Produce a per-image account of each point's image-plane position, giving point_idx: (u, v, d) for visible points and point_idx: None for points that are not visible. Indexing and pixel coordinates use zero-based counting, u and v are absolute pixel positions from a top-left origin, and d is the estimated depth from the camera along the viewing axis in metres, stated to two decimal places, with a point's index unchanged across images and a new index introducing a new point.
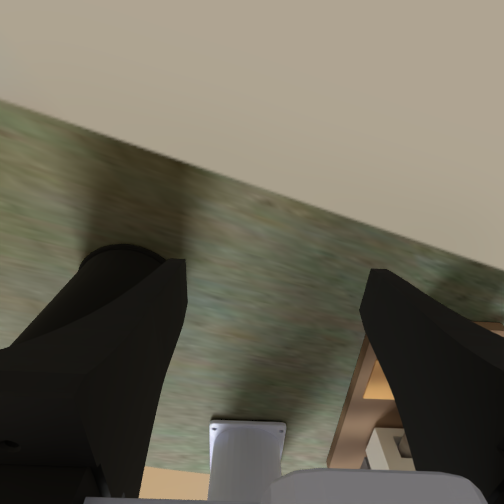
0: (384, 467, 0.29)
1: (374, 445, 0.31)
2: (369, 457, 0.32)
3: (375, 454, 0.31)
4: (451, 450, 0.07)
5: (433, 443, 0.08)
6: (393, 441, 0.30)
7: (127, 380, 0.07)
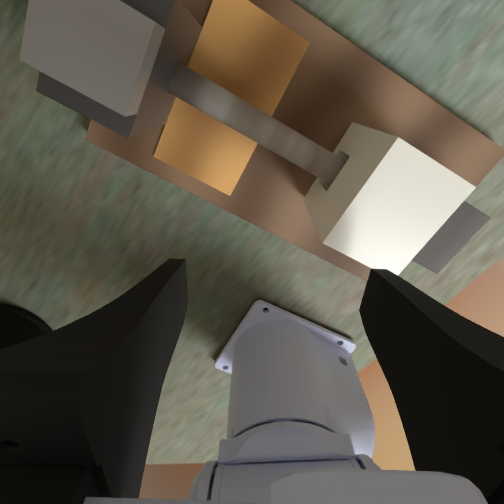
0: None
1: None
2: None
3: None
4: (451, 450, 0.07)
5: (433, 443, 0.08)
6: (319, 186, 0.17)
7: (127, 380, 0.07)
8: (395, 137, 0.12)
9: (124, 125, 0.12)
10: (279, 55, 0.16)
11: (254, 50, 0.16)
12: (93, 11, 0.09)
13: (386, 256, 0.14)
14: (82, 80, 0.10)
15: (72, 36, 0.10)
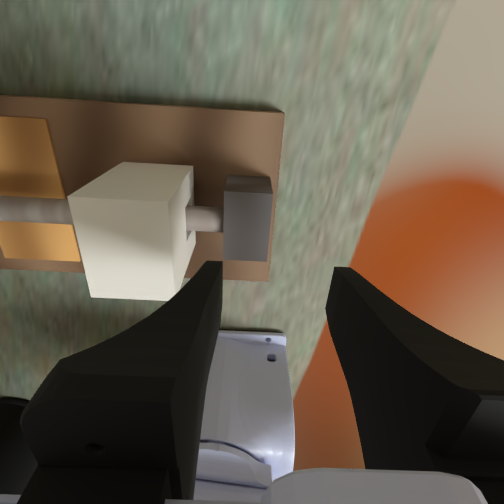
0: None
1: None
2: None
3: None
4: (392, 448, 0.07)
5: (379, 441, 0.08)
6: None
7: (192, 382, 0.07)
8: (69, 196, 0.13)
9: None
10: (31, 141, 0.18)
11: (11, 147, 0.18)
12: None
13: (150, 286, 0.15)
14: None
15: None
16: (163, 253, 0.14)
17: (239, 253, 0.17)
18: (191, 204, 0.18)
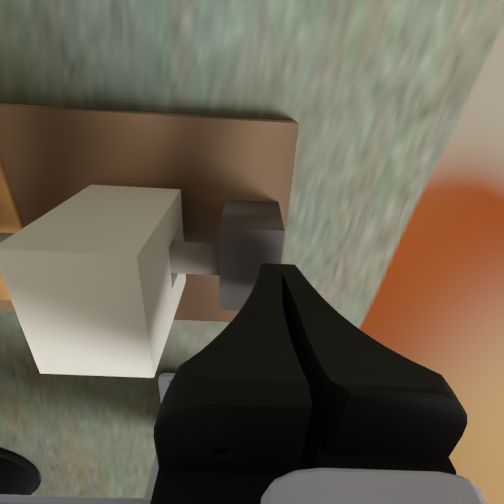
0: None
1: None
2: None
3: None
4: None
5: None
6: None
7: None
8: None
9: None
10: None
11: None
12: None
13: (119, 360, 0.11)
14: None
15: None
16: (134, 321, 0.10)
17: (240, 302, 0.14)
18: (179, 237, 0.14)
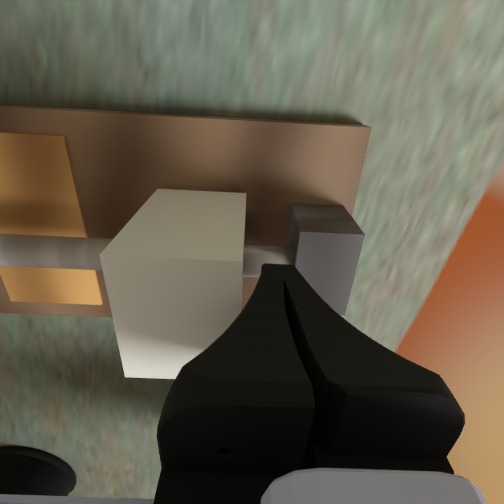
0: None
1: None
2: None
3: None
4: None
5: None
6: None
7: None
8: (102, 253, 0.09)
9: None
10: (45, 164, 0.14)
11: (19, 171, 0.14)
12: None
13: None
14: None
15: None
16: (228, 325, 0.10)
17: None
18: None
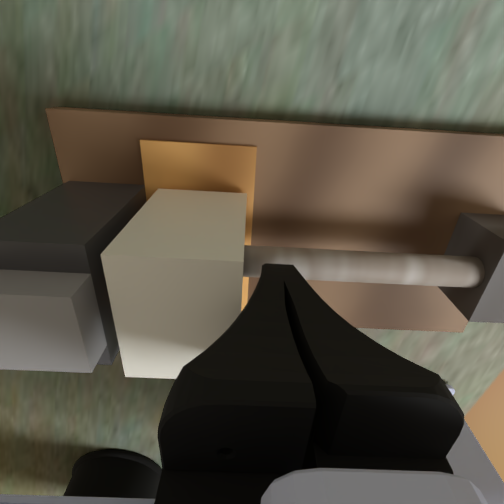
0: None
1: None
2: None
3: None
4: None
5: None
6: None
7: None
8: (103, 252, 0.09)
9: (102, 356, 0.11)
10: (231, 173, 0.14)
11: (203, 181, 0.14)
12: (12, 312, 0.09)
13: None
14: (38, 362, 0.10)
15: (9, 336, 0.09)
16: (228, 325, 0.10)
17: (492, 314, 0.14)
18: None
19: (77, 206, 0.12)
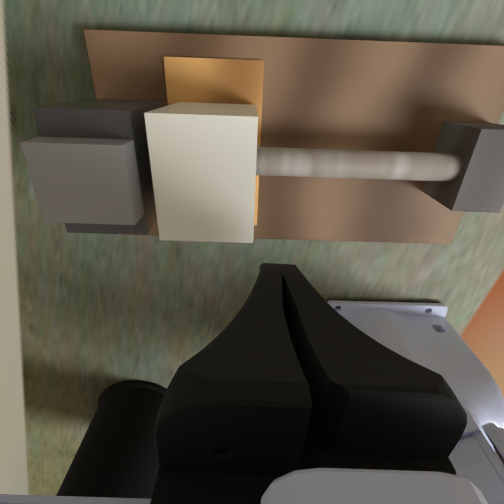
0: None
1: None
2: None
3: None
4: None
5: None
6: None
7: None
8: None
9: (139, 226, 0.14)
10: (242, 86, 0.16)
11: (218, 94, 0.16)
12: (75, 162, 0.11)
13: (227, 224, 0.13)
14: (92, 214, 0.12)
15: (70, 187, 0.12)
16: (246, 183, 0.12)
17: (472, 203, 0.16)
18: None
19: (115, 103, 0.14)
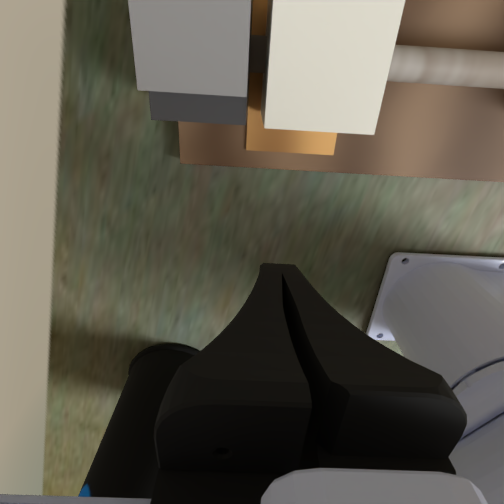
0: None
1: None
2: None
3: None
4: None
5: None
6: None
7: None
8: None
9: (238, 113, 0.11)
10: None
11: None
12: (189, 1, 0.09)
13: (348, 108, 0.11)
14: (197, 80, 0.10)
15: (177, 39, 0.09)
16: (382, 49, 0.10)
17: None
18: None
19: None
